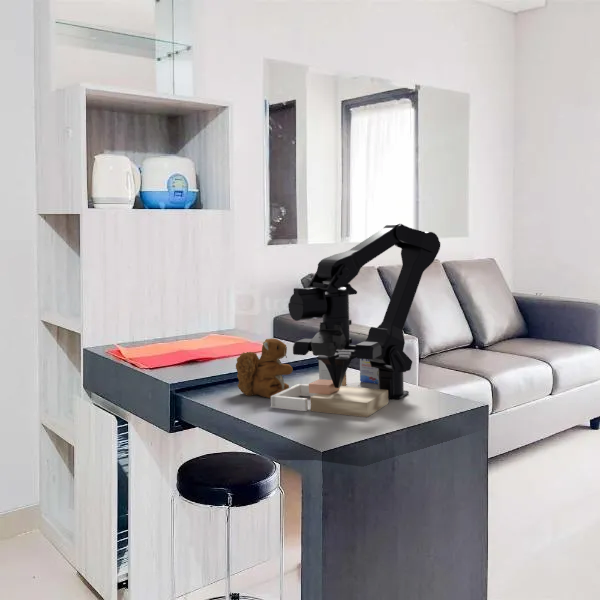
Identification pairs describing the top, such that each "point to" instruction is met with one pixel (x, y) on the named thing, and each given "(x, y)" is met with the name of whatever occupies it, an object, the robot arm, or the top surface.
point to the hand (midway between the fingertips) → (337, 387)
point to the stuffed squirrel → (263, 370)
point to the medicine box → (368, 372)
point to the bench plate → (350, 401)
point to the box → (292, 398)
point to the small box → (327, 373)
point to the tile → (322, 387)
